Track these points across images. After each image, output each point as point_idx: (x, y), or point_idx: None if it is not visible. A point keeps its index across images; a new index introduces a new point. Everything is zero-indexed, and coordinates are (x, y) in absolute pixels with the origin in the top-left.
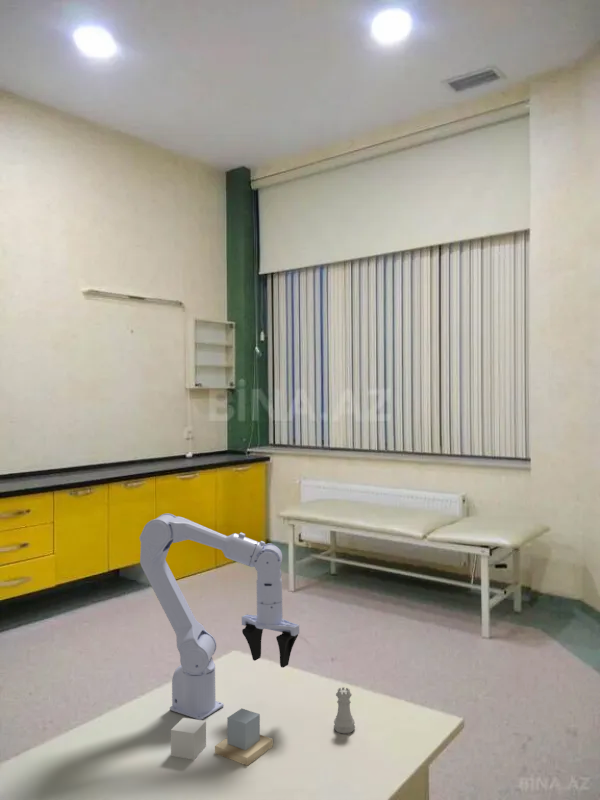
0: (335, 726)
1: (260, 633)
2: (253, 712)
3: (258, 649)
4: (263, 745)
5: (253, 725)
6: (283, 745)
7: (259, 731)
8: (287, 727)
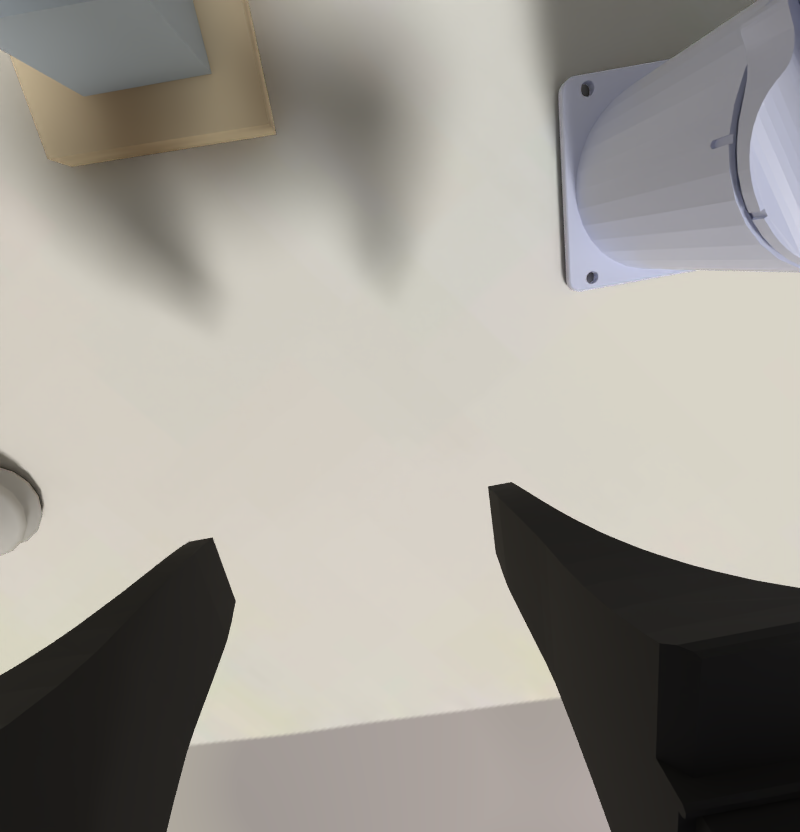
0: (1, 478)
1: (601, 776)
2: (12, 6)
3: (523, 586)
4: (14, 61)
5: None
6: (43, 210)
7: (51, 75)
8: (177, 350)
